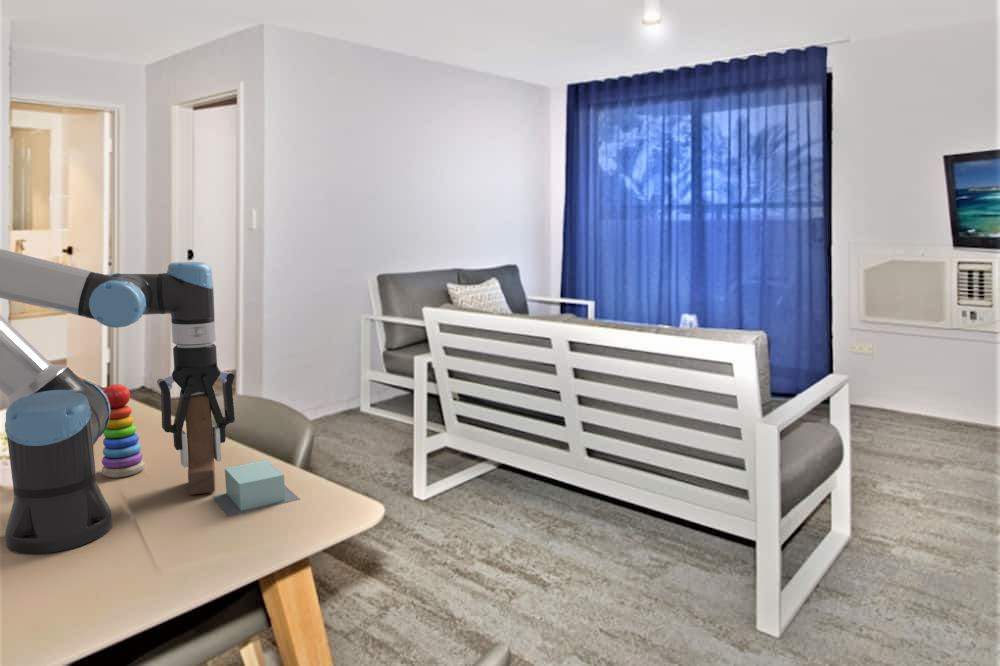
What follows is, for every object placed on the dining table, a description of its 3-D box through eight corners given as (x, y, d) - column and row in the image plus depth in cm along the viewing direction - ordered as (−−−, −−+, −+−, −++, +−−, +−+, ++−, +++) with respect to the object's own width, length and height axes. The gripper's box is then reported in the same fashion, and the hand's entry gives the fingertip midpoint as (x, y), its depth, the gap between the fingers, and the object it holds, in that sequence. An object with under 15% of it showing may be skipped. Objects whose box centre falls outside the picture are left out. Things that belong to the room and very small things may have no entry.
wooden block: (215, 492, 134) (209, 400, 132) (189, 495, 133) (183, 402, 130) (215, 476, 143) (210, 390, 140) (190, 479, 141) (185, 391, 138)
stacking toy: (153, 466, 151) (146, 380, 148) (130, 479, 143) (122, 389, 140) (118, 465, 152) (110, 379, 149) (93, 478, 144) (85, 388, 141)
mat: (228, 519, 124) (228, 515, 124) (212, 499, 133) (212, 496, 133) (300, 502, 132) (300, 499, 132) (281, 484, 141) (280, 481, 141)
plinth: (241, 510, 127) (239, 484, 126) (226, 493, 135) (224, 468, 134) (285, 500, 131) (283, 474, 130) (268, 484, 139) (267, 460, 138)
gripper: (144, 351, 125) (152, 477, 129) (249, 342, 136) (255, 458, 139) (137, 345, 131) (145, 465, 135) (238, 337, 142) (244, 448, 145)
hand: (201, 461), depth 137 cm, fingers closed on wooden block, 5 cm apart
